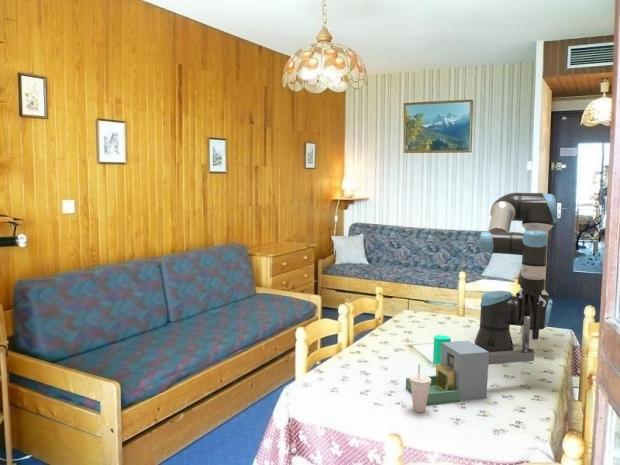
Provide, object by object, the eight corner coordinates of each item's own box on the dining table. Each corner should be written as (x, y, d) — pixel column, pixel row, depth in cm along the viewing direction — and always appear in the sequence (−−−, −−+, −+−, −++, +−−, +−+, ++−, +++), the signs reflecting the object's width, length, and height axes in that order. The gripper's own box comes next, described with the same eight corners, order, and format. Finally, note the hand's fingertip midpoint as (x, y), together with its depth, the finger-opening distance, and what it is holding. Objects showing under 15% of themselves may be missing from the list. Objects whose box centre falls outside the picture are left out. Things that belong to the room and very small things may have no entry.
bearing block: (466, 383, 185) (468, 340, 184) (486, 397, 174) (488, 351, 172) (439, 386, 183) (441, 342, 181) (458, 400, 171) (460, 354, 170)
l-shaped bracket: (528, 357, 186) (531, 314, 184) (535, 360, 182) (538, 317, 181) (448, 364, 178) (450, 319, 176) (454, 368, 174) (456, 322, 173)
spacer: (441, 386, 181) (442, 363, 180) (454, 396, 173) (455, 371, 172) (435, 387, 180) (436, 363, 179) (447, 397, 172) (448, 372, 172)
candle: (449, 367, 200) (451, 335, 199) (433, 366, 202) (434, 334, 200) (449, 362, 206) (450, 331, 205) (432, 361, 207) (434, 330, 206)
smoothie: (406, 405, 167) (407, 360, 166) (426, 404, 168) (428, 360, 166) (411, 414, 161) (413, 368, 160) (433, 413, 162) (434, 368, 160)
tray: (438, 385, 184) (439, 375, 183) (459, 401, 171) (460, 390, 170) (405, 388, 180) (406, 378, 180) (425, 405, 167) (425, 394, 167)
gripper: (507, 273, 188) (503, 339, 190) (540, 282, 172) (535, 355, 174) (526, 272, 190) (522, 338, 192) (560, 282, 174) (555, 353, 176)
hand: (528, 346), depth 183 cm, fingers closed on l-shaped bracket, 4 cm apart
